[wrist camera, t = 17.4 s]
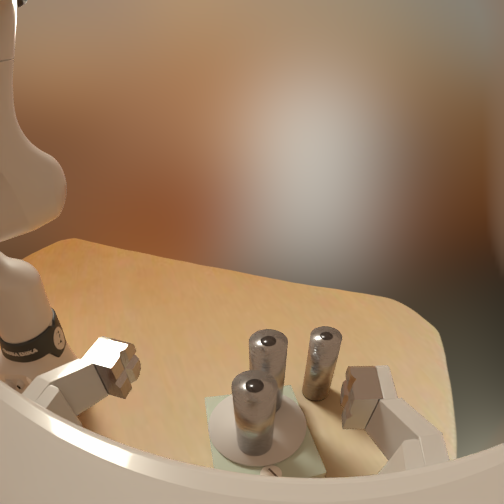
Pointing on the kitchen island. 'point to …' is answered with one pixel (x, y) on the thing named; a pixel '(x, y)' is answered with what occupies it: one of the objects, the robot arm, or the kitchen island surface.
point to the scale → (283, 448)
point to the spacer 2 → (254, 411)
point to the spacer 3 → (321, 362)
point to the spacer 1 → (270, 357)
